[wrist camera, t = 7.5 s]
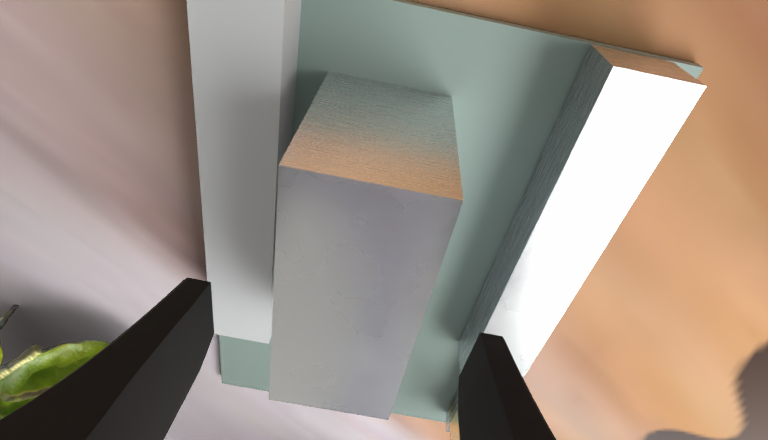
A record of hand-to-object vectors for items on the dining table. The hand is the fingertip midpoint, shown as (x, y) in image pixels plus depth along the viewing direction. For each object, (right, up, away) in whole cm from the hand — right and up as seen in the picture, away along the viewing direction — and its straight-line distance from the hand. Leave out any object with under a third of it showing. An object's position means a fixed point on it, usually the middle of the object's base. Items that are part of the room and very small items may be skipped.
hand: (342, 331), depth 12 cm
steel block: (+1, +4, +5) cm, 6 cm away
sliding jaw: (+7, 0, +7) cm, 10 cm away
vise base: (+1, +1, +7) cm, 8 cm away
